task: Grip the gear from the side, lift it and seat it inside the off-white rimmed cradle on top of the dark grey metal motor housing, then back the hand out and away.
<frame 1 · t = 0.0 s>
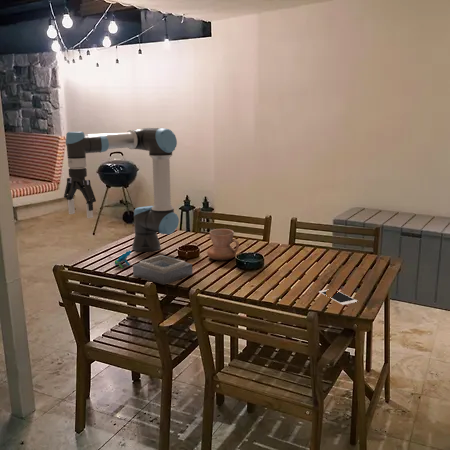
hand: (80, 215, 220), 28 cm above the table, tool pointing down, fingers open, 13 cm apart
motor housing: (162, 274, 227), on the table
cell phone: (337, 298, 200), on the table
gear: (122, 265, 242), on the table
ceramic jug: (222, 259, 252), on the table
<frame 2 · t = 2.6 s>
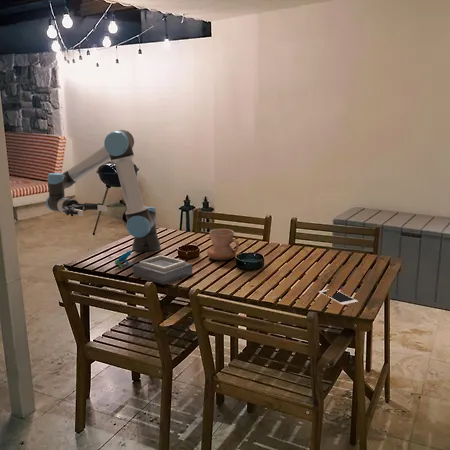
hand: (94, 211, 235), 27 cm above the table, tool horizontal, fingers open, 13 cm apart
nothing on the table moved.
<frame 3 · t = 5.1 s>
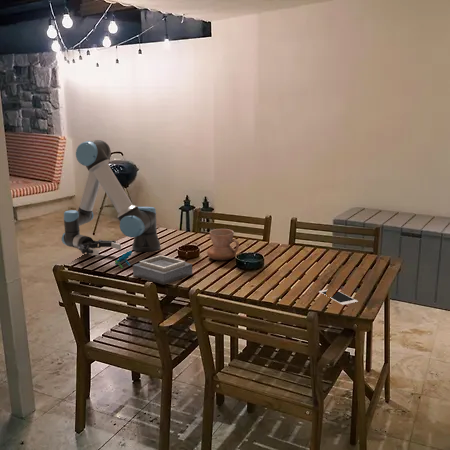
hand: (109, 249, 247), 6 cm above the table, tool horizontal, fingers open, 13 cm apart
nothing on the table moved.
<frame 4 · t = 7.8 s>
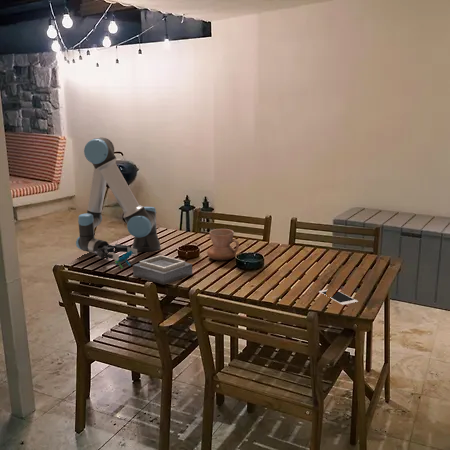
hand: (127, 254, 238), 6 cm above the table, tool horizontal, fingers open, 11 cm apart
gear: (123, 266, 242), on the table, touching gripper
everything else where it was.
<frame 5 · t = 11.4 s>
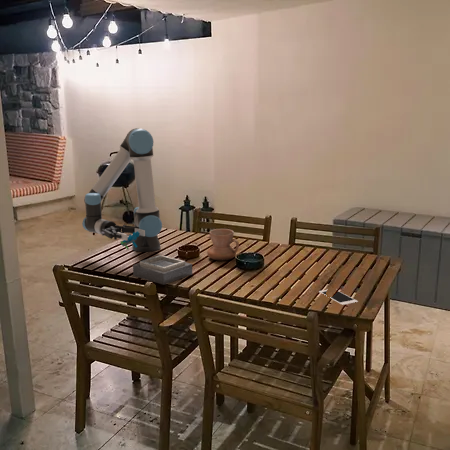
hand: (135, 235, 227), 18 cm above the table, tool horizontal, fingers closed on gear, 9 cm apart
gear: (130, 247, 230), point 12 cm above the table, touching gripper
everything else where it was.
when the fingers open (12 cm above the table, at t = 14.6 s): gear drops 1 cm, resting on motor housing.
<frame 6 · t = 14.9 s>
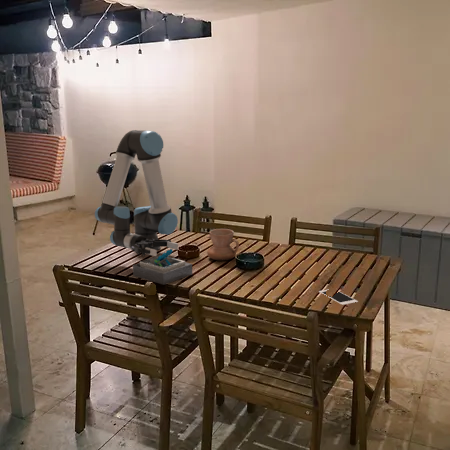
hand: (167, 249, 223), 12 cm above the table, tool horizontal, fingers open, 13 cm apart
gear: (163, 265, 225), point 5 cm above the table, touching motor housing
everything else where it was.
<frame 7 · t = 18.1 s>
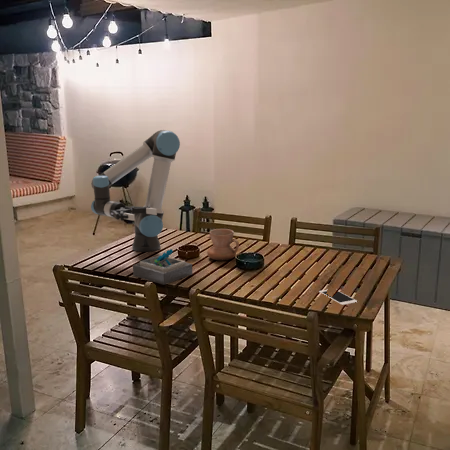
hand: (145, 214, 227), 27 cm above the table, tool horizontal, fingers open, 13 cm apart
nothing on the table moved.
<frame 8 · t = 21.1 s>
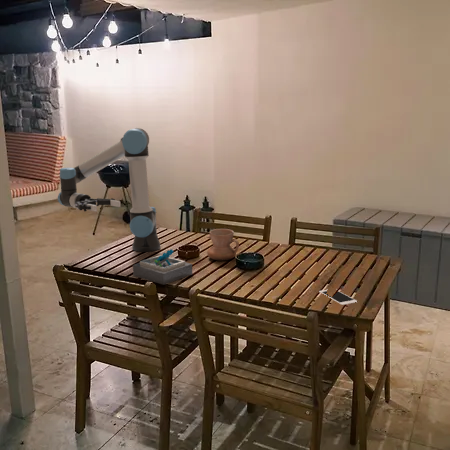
hand: (108, 206, 231), 30 cm above the table, tool horizontal, fingers open, 13 cm apart
nothing on the table moved.
at the end: gear inside the target area on the motor housing (1.4 cm from its centre), point 4.8 cm above the motor housing's base; gear tilted 0°; the gripper is holding nothing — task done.
